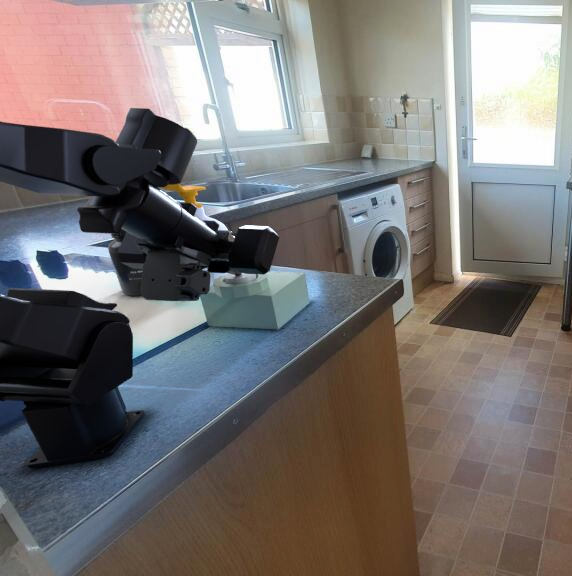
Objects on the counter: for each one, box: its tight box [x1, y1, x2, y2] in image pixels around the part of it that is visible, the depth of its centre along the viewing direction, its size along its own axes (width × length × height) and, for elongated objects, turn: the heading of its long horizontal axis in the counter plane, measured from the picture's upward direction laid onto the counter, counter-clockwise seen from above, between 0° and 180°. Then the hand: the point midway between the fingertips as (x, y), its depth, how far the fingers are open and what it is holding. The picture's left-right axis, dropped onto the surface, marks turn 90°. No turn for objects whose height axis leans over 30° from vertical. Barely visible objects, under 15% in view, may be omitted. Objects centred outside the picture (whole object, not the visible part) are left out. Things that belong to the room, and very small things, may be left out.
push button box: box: [199, 270, 311, 330], centre depth 65 cm, size 11×11×8 cm
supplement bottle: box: [107, 229, 142, 297], centre depth 72 cm, size 7×7×12 cm
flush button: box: [224, 273, 257, 284], centre depth 62 cm, size 4×4×2 cm
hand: (239, 272), depth 62 cm, fingers closed, pressing on flush button
